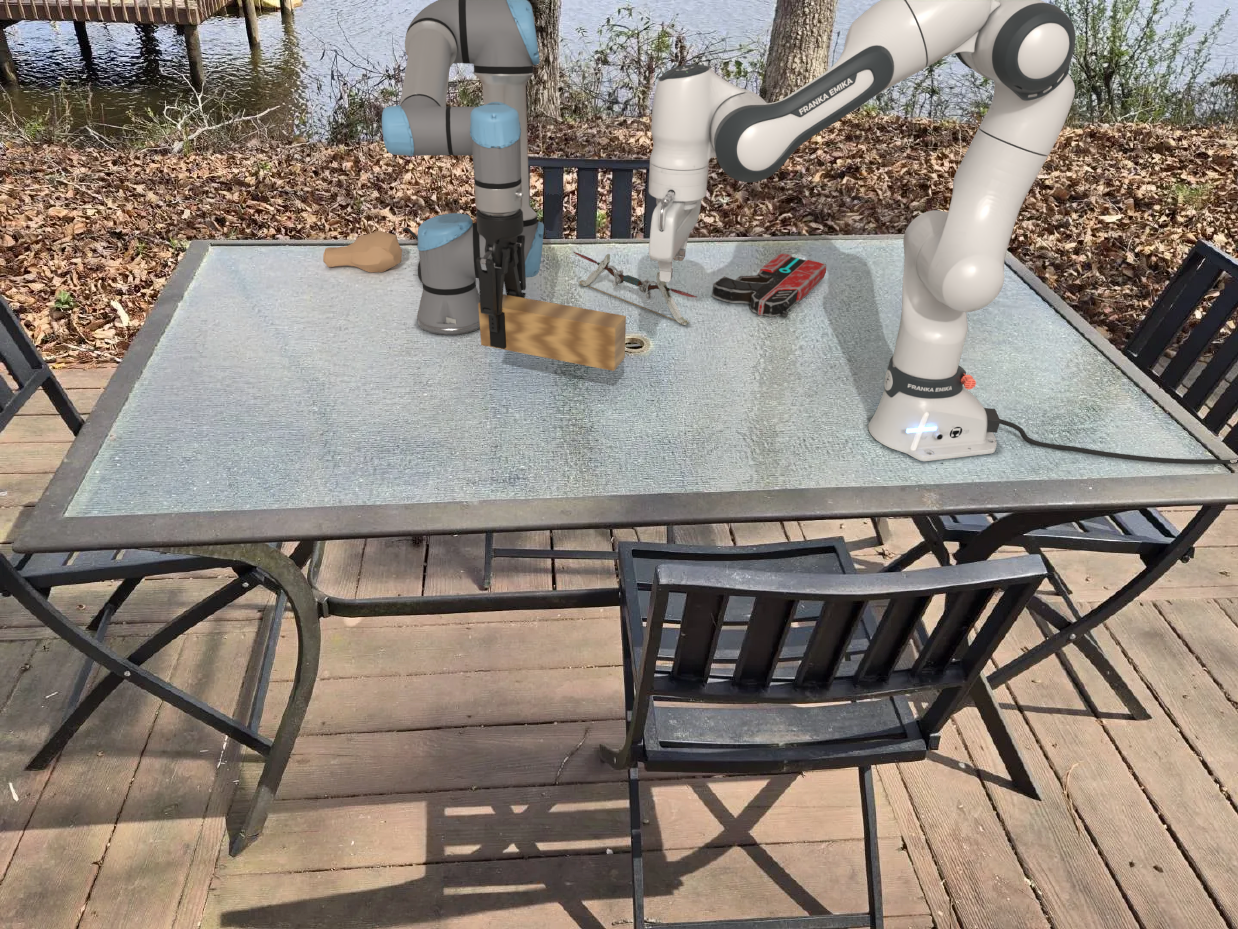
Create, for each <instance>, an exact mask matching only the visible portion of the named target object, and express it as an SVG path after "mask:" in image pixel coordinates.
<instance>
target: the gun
mask: <svg viewBox="0 0 1238 929" xmlns="http://www.w3.org/2000/svg"><path fill="white" fill-rule="evenodd" d="M826 273H827V264H826V263H823V262H820V261H816V260H812V259H802V258H799V257H795V256H793V255H792V254H791V253H784V252H780V253H778V254H777V255H775V256H774V257H773V258H771V259H770V260H768V261H767V262H766V263H765V264H763V265H762V266H761V267H760V269H759V271H758V273H757V274H756V275H753V274H752V275H751V274H750V275H740V276H738V277H737V278H735V279H734V278H731V277H727V276H722V277H720V279H717V281H715V282H713V283H712V291H711V297H713V298H714V299H716V300H719V301H723V302H727V303H730V304H750V305H749V308H750V310H751V312H753V313H755V314H757V315H758V316H760V317H761V316H765V317H770V318H771V317H777V316H780V317H784V318H787V317H788V315H789V311H788V310H790V309H791V308H792V307H793V306H794V305H795V304H798V303H799V302H801V301H802V300H803V299H804V298H805V297H807V296H808V295H809V294H810V293H811V292H812V291H813V290H814V289H815V287H817V285H818V284H820V283H821V282H822V280H823V279H824V278H825V276H826Z"/></svg>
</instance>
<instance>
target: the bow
mask: <svg viewBox="0 0 1238 929" xmlns="http://www.w3.org/2000/svg"><path fill="white" fill-rule="evenodd" d="M573 254H574V255H577V256H578V257H580V258H582V259H584V260H586V261H588V262H590V263H593V264H596V265H597V268H595V270H593V271H592V272H591V273H590V274H589V275H588V276H587V278H586V280H583V279H582V280H579V281H578V284H579V285H580V286H583V287H589V288H591V289H593V290H596V291H599V292H600V293H604V294H606V295H609V296H612V297H614V298H617V299H619V300H621V301H625V302H626V303H629V304H632V305H634V306H637V307H640V308H642V309H645V310H647V311H650V312H652V313H655V314H657V315H659V316H662V317H665V318H667V319H670V320H672V321H675V322H677V323H678V324H680V325H682V326H687V325H688V324H690V321H689V320H687V318H685V317H683V316H682V315H681V312H680V309H679V307H678V305H677V303H676V302H675V300H674V298H673V297H672V295H671V293H670V292H672V293H674V294H678V295H680V296H684V297H688V298H698V296H697V295H693V294H692V293H689V292H685V291H683V290H681V289H677V288H672V287H671V288H670V287H668V285H667V282H663V281H660V279H659V274H660V271H657V272H656V278H655V279H656V281H655V280H651V281H650V280H649V278H646V279H645V280H641V279H640V278H637V277H635V276H632V275H629V274H626V275H625V274H624V270H623V269H620V270H618V269H617V268H616V267H615V266H614V265H612V264H611V265H610V262H611V254H610V253H607V254H605V255H604V258H603V259H602V260H601V261H600V262H598V261H596V260H595V259H593V258H591V257H589V256H588V255H587V256H586V255H584V254H582V253H579V252H576V251H573ZM606 271H607V272H608V273H609V274H610V275H611V276H612V277H613V282H612V287H613V288H616V287H619V285H621V284H624V283H628V284H630V285H633V286H636V287H638V290H639V292H640V293H642V294H645V295H644V296H645V298H644V299H645V300H651V299H652V293H651V291H653V290H659V292H660V293H661V295H662V297H663V298H664V301H665V303H666V305H667V307H668V309H669V311H670V313H671V315H672V316H673V318H672V317H670V316H667V315H664V314H662V313H660V312H657V311H654V310H652V309H649V308H646V307H644V306H642V305H638V304H636V303H634V302H631V301H628V300H626V299H623V298H621V297H618V296H616V295H613V294H611V293H609V292H606V291H604V290H601V289H598V288H596V287H593V286H590V285H591V284H594V283H595V281H596V280H597V279H598V278H599V277H600V276H601V275H602V274H603V273H604V272H606Z"/></svg>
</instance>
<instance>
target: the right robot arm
mask: <svg viewBox="0 0 1238 929" xmlns="http://www.w3.org/2000/svg"><path fill="white" fill-rule="evenodd" d="M1075 48H1076V30H1075V26H1074V23H1073V22H1072V19H1071V18H1070V17H1069V15H1068V14H1067V13H1066V12H1065V11H1064V10H1062V9H1061V8H1060V7H1058V6H1057V5H1055V4H1053V3H1049V2H1045V1H1044V0H879V1H877V2H876V3H875V4H872V6H871V7H869V8H867V10H865V11H864V12H862V13H861V15H860V16H858V17H857V18H856V19H855V20H854V21H853V22H852V23H851V25H850V26H849V29H848V31H847V33H846V36H845V40H844V46H843V49H842V52H841V54H840V55H839V58H838V59H837V60H836V61H835V63H834V64H833V65H831V67H830V68H829V69H827V70H826V71H825V72H823V73H821V74H820V75H818V76H817V77H815V78H814V79H812V80H810V81H809V82H807V83H806V84H804V85H802V86H801V87H799V88H798V89H796V90H794V91H793V92H792V93H790V94H789V95H786V96H785V97H784V98H782V99H780V100H778V101H775V102H766V100H765V99H764V98H763V97H761V96H760V95H759V94H757V93H756V92H754V91H752V90H749V89H746V88H743V87H740V86H738V85H735V84H733V83H731V82H729V81H727V80H726V79H724V78H723V77H721V76H719V75H718V74H717V73H716V72H714V71H713V70H712V69H711V68H710V66H709V65H705V64H701V63H700V64H693V63H691V64H684V65H679V66H674V67H672V68H670V69H667V70H666V71H665V72H663V73H662V75H661V76H660V77H659V78H658V80H657V82H656V85H655V90H654V94H653V95H654V96H653V101H652V112H651V124H650V127H651V128H650V133H651V138H652V150H651V153H650V157H649V168H648V169H649V172H648V190H647V191H648V194H649V195H650V196H651V197H653V198H655V199H656V200H655V204H656V206H655V207H654V209H653V212H652V215H651V220H650V221H651V222H650V230H649V242H648V256H649V259H650V260H651V261H654V262H657V266H658V270H659V272H660V274H659V279H660V281H663V282H665V283H669V282H671V280H672V279H673V275H674V274H673V272H674V268H673V261H678V262H682V261H684V259H685V258H686V252H687V246H688V241H689V237H690V234H691V232H692V231H693V229H694V228H695V226H696V225H697V223H698V221H699V216H700V213H701V206H702V200H703V198H705V197H706V196H707V189H708V181H709V172H710V171H709V168H710V166H709V164H710V160H711V159H713V158H716V161H717V163H718V166H719V167H720V169H721V170H722V171H723V172H724V173H725V174H726V175H727V176H728V177H730V178H731V179H732V180H733V179H734V180H735V181H737V182H741V183H757V182H762V181H764V180H766V179H768V178H770V177H772V176H774V174H776V173H777V172H778V171H779V170H780V169H781V168H782V167H783V166H784V165H785V164H786V162H787V161H788V159H790V157H791V156H792V155H793V154H794V153H795V151H796V150H797V149H798V148H800V146H802V145H803V144H805V142H807V141H809V140H810V139H812V138H813V137H814V136H817V134H819V133H821V132H822V131H824V130H825V129H828V127H830V126H832V125H834V124H835V123H837V122H838V121H840V120H841V119H843V118H845V117H846V116H847V115H849V114H851V113H853V112H854V111H856V110H857V109H858V108H860V107H861V106H863V105H865V104H866V103H867V102H869V101H870V100H871V99H873V98H874V97H876V96H878V95H879V94H881V93H882V92H884V91H886V90H888V89H890V88H891V87H893V86H895V85H897V84H899V83H900V82H902V81H905V80H906V79H909V78H910V77H912V76H914V75H916V74H917V73H919V72H921V71H923V70H924V69H926V68H928V67H930V66H932V65H933V64H935V63H936V62H938V61H940V60H941V59H943V58H944V57H949V56H951V55H954V54H955V56H956V57H957V59H958V60H959V61H960V62H961V63H962V64H963V65H964V66H965V67H967V68H969V69H971V70H973V71H974V72H976V73H977V74H978V75H980V76H981V77H983V78H985V79H987V80H990V81H993V82H994V91H993V97H992V101H991V102H990V107H989V109H988V110H987V112H986V114H985V116H984V117H983V119H982V121H981V123H980V125H979V127H978V129H977V130H976V133H975V135H974V136H973V138H972V140H971V142H970V145H969V146H968V147H967V150H966V152H965V154H964V156H963V158H962V160H961V162H960V164H959V166H958V167H957V170H956V172H955V174H954V177H953V180H952V193H951V199H950V203H949V207H948V211H944V210H938V209H937V210H936V209H934V210H928V211H925V212H923V213H921V214H919V215H918V216H916V217H915V218H914V219H912V221H911V222H910V223H909V224H908V226H907V227H906V229H905V232H904V234H903V243H902V245H903V255H904V256H903V257H904V258H903V275H902V292H901V293H902V294H901V312H900V321H899V328H898V331H897V336H896V341H895V346H894V350H893V354H892V356H891V357H890V358H889V362H888V366H887V369H886V372H885V376H884V384H883V389H884V390H883V392H882V395H881V397H880V400H879V403H878V405H877V408H876V410H875V412H874V414H873V416H872V418H871V419H870V421H869V422H868V425H867V428H868V432H869V434H870V435H871V436H872V437H873V439H875V440H876V441H877V442H878V443H880V444H881V445H883V446H885V447H887V448H889V449H892V450H894V451H897V452H901V453H903V454H906V455H909V456H910V457H912V458H913V459H915V460H918V461H920V462H931V461H940V460H947V459H957V458H964V457H973V456H982V455H989V454H990V455H991V454H995V452H996V449H997V446H998V445H997V438H996V436H995V434H997V433H998V431H999V427H1000V425H1003V426H1005V427H1009V428H1012V429H1014V430H1015V431H1016V432H1018V433H1019V434H1020V436H1021V438H1022V439H1023V440H1024V441H1025V442H1027V443H1029V444H1031V445H1034V446H1036V447H1037V446H1038V447H1041V448H1047V449H1053V450H1061V451H1069V452H1070V451H1071V452H1077V453H1081V454H1088V455H1095V456H1100V457H1107V458H1115V459H1122V460H1130V461H1140V462H1151V463H1163V464H1179V465H1180V464H1182V465H1183V464H1184V465H1228V464H1230V465H1231V464H1232V465H1233V464H1234V463H1231V462H1230V460H1218V459H1219V458H1173V457H1171V458H1170V457H1156V456H1144V455H1136V454H1128V453H1127V454H1126V453H1119V452H1110V451H1104V450H1098V449H1092V448H1085V447H1079V446H1075V445H1067V444H1055V443H1047V442H1043V441H1039V440H1035V439H1033V438H1031V437H1029V435H1028V434H1027V433H1026V431H1025V429H1023V427H1021V426H1020V425H1018V424H1016V423H1014V422H1011V421H1009V420H1005V419H1002V418H1000V417H999V414H998V412H997V410H996V408H991V407H990V408H989V407H984V406H983V404H982V403H981V402H980V400H979V399H978V398H977V397H976V396H975V395H974V394H972V392H971V391H969V390H973V389H974V388H975V387H976V385H977V381H976V379H975V378H973V375H970V374H967V372H966V370H965V369H964V368H963V367H962V366H961V365H960V362H961V359H962V354H963V351H964V347H965V345H966V344H965V343H966V339H967V336H968V333H969V332H968V331H969V323H968V317H967V316H968V315H967V314H968V313H971V312H972V313H973V312H976V311H980V310H982V309H984V308H986V307H987V306H989V305H990V304H992V303H993V301H995V300H996V298H998V296H999V295H1000V293H1001V291H1002V289H1003V286H1004V283H1005V262H1006V261H1005V260H1006V255H1007V252H1008V248H1009V245H1010V241H1011V238H1012V235H1013V231H1014V228H1015V226H1016V221H1017V219H1018V215H1019V213H1020V212H1021V211H1020V210H1021V208H1022V206H1023V203H1024V201H1025V199H1026V197H1027V196H1028V194H1029V192H1030V190H1031V189H1032V186H1033V184H1034V183H1035V181H1036V179H1037V177H1038V175H1039V173H1040V172H1041V170H1042V168H1043V166H1044V164H1045V162H1046V161H1047V159H1048V157H1049V155H1050V154H1051V152H1052V150H1053V148H1054V146H1055V145H1056V142H1057V140H1058V138H1059V136H1060V134H1061V132H1062V130H1063V127H1064V125H1065V123H1066V120H1067V117H1068V115H1069V113H1070V110H1071V107H1072V105H1073V102H1074V98H1075V94H1076V86H1075V83H1074V81H1073V79H1072V77H1071V76H1070V75H1069V72H1070V63H1071V62H1072V58H1073V55H1074V53H1075ZM1235 464H1238V460H1237V462H1236V463H1235Z"/></svg>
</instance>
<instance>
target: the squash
mask: <svg viewBox="0 0 1238 929" xmlns="http://www.w3.org/2000/svg"><path fill="white" fill-rule="evenodd" d="M402 254H403V249H402V246H400V244H399V239H398V236H397V235H396V234H392V233H391V232H390V233H389V232H387V231H383V230H376V231H374V232H371V233H367V234H362V235H359V237H357V238H355V240H354V241H353V242H352V243H350V244H348V245H346V246H337V247H335V246H334V247H333V246H332V247H330V246H329V247H325V248H324V251H323V255H322V262H323V263H324V264H325V265H326V267H328V268H334V267H341V266H342V267H343V266H349V267H355V268H358V269H360V270H362V271H364V272H368V273H384V272H386V271H388V270H389V269H391V268H394V267H395V266H398V265H399V264H400V263H402V256H403V255H402Z"/></svg>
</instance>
